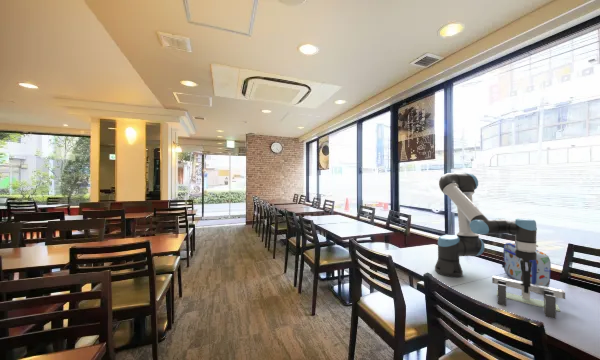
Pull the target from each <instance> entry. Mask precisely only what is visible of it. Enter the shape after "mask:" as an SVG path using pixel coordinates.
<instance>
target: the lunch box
mask: <svg viewBox="0 0 600 360" xmlns="http://www.w3.org/2000/svg"><path fill="white" fill-rule="evenodd" d="M515 250H516V248H515V243H514V242H506V243H504V245H503V261H502V264H501V267H502V268H503V269H504V270H503V271H504V272H505V274H506V275H507V276H508V277H510V278H511V279H512V280H516V281H521V282H522V279H521V278H522V270H521V264H520V260H522V258H518V257H516V256H515ZM535 252H536V253H537V259H536V260H529V262H531V263H532V267H531V272H530V282H531V284H536V285H541V286H545V287H550V284H551V283H550V282H551V267H552V265H551V264H552V263H551V258H550V257H549V256H548V254H546V253H545V252H543V251H540V250H538V249H536V251H535Z"/></svg>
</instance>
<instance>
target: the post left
mask: <svg viewBox="0 0 600 360" xmlns="http://www.w3.org/2000/svg"><path fill="white" fill-rule="evenodd" d="M497 290H498V296H497V304H498V305H501V306H505V307H506V306H507V298H506V292H507V286H506V282H505V281H501V280H498V284H497Z"/></svg>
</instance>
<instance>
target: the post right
mask: <svg viewBox="0 0 600 360" xmlns="http://www.w3.org/2000/svg"><path fill="white" fill-rule="evenodd" d="M543 301H544V308H543V312H544V315H545V317H547V318H550V319H554V320H556V319H557V318H556V316H557V314H556V313H557V311H556V304H557V297H556V296H554V292H552V291H548V290H544V294H543Z"/></svg>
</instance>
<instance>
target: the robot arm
mask: <svg viewBox="0 0 600 360" xmlns="http://www.w3.org/2000/svg"><path fill="white" fill-rule="evenodd" d="M438 185H439V186H438V187H439V190H440V191H441V192H442V193H443V194H444V195H446V196H448V198H449V199H450V201H452V202H453V204H454V205H455V206H456V207H457V208H456V209H457V219H458V232H457V233H456V235H453V234H443V235H440V236H439V237H438V239H437V260H436V263H435V266H434V271H435V272H436V273H438V274H440V275H443V276H446V277H449V278H450V277H452V278H461V277H463V275H464V274H463V273H464V272H463V269H462V265H461V263H460V257H476V256H480V255H482V254H483V253H484V251H485V243H484V241H483V240H482V238H480V236H479V235H502V234H504V235H505V234H506V235H510V236H515V238H514V239H515V248H516V250H515V256H516V257H518V258H522V260H520V264H521V270H522V278H521V279H522V282H523V284H521V285H522V290H521V296H522V298H523V299H527V300H530V298H531V292H530V286H531V285H530V283H531V282H530V272H531V267H532V263H531V262H529V260H536V259H537V253H536V252H535V251H536V250H537V248H539V245H538V244H537V232H538V228H537V222H536V220H535V219H532V218H522V217H519V218H518V217H517V218H516V219H515V220H511V219H506V218H499V217H498V218H494V219H488V218H487V216H485V215H484V213H482V211H481V210H480V209H479V208H478V207H477V206H476V205H475V204H474V203H473V195H474V194H475V191H476V190H477V189H478V187H479V180H478V178H477V176H476V175H475V174H473V173H471V172H470V173H469V172H447V173H445V174H443V175H442V176H441V177H440V179H439V181H438Z"/></svg>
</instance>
